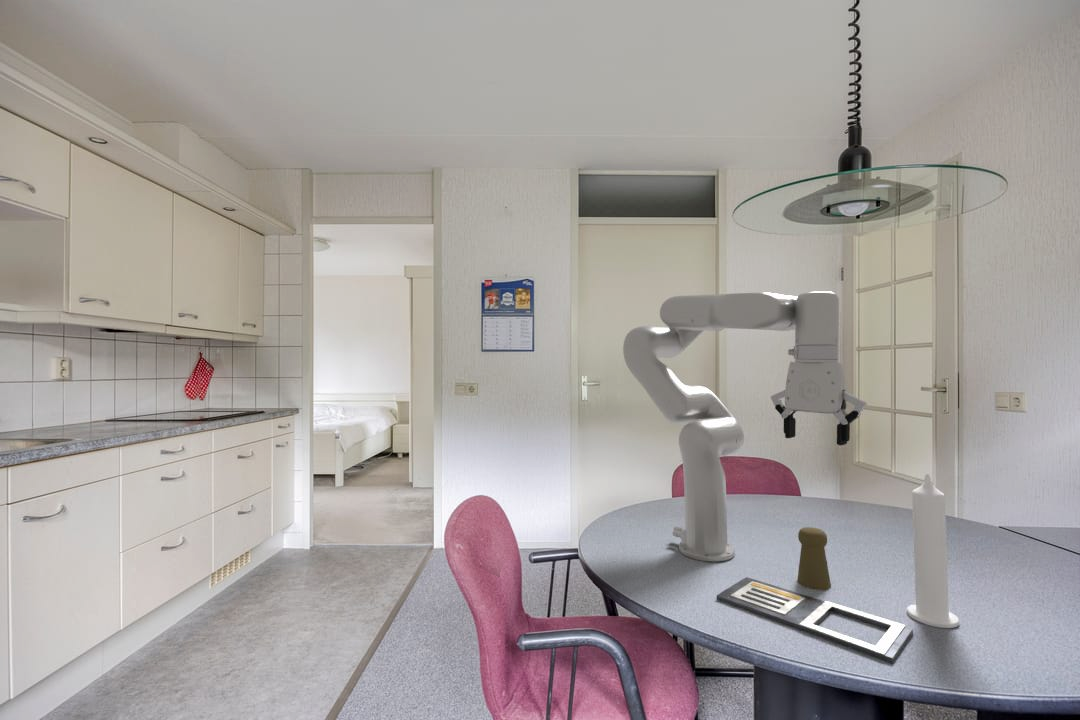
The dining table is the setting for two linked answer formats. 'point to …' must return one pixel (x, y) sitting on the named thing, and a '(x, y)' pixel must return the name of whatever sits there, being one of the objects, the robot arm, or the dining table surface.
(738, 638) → the dining table surface
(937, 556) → the candle
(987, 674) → the dining table surface
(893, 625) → the panel
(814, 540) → the cork
